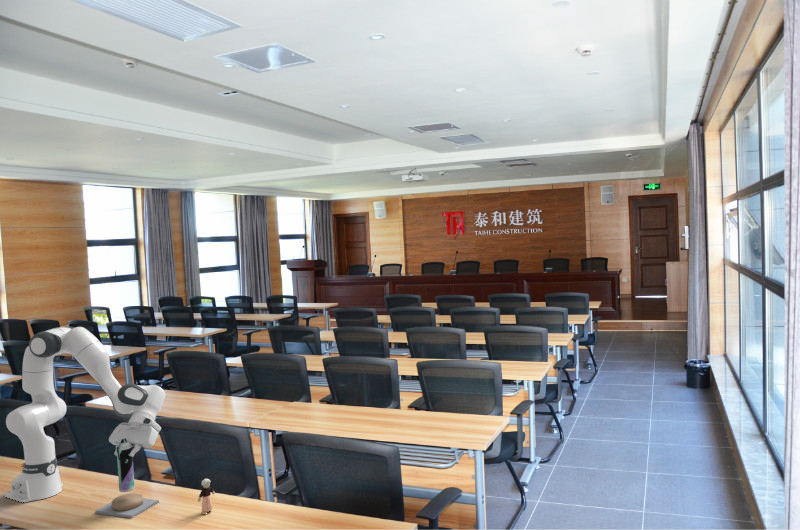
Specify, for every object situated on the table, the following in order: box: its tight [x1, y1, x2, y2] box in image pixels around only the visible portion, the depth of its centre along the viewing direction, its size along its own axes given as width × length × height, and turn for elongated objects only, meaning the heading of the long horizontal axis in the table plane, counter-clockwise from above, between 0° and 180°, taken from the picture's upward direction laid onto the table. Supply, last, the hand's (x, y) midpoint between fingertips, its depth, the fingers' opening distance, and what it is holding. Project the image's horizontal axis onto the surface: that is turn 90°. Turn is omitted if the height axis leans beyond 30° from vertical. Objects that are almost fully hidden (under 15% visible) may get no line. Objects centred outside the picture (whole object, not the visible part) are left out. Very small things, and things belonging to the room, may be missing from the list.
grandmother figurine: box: [197, 478, 216, 515], centre depth 227 cm, size 8×4×13 cm, turn 160°
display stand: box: [95, 492, 160, 519], centre depth 235 cm, size 18×14×4 cm
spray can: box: [115, 438, 136, 493], centre depth 234 cm, size 6×6×20 cm
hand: (123, 455), depth 234 cm, fingers closed on spray can, 5 cm apart
